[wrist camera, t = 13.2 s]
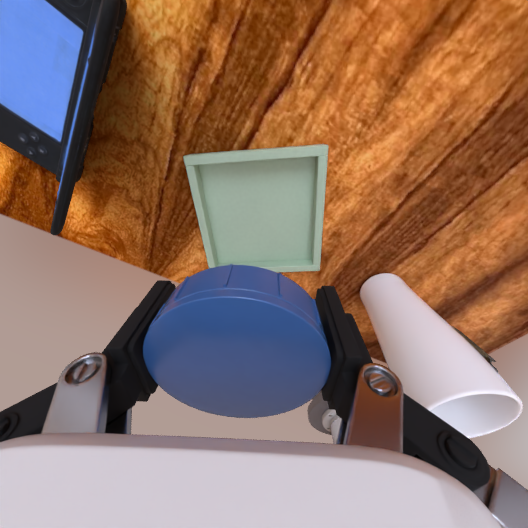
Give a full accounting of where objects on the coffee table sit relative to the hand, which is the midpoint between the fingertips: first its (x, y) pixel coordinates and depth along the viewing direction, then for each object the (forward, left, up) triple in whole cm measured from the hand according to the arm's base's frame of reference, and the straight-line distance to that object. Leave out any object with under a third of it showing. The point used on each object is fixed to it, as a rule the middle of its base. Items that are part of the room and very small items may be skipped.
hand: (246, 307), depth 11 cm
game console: (+12, +15, -15) cm, 24 cm away
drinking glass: (-11, -15, -15) cm, 23 cm away
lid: (0, 0, +3) cm, 3 cm away
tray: (0, 0, -15) cm, 15 cm away
